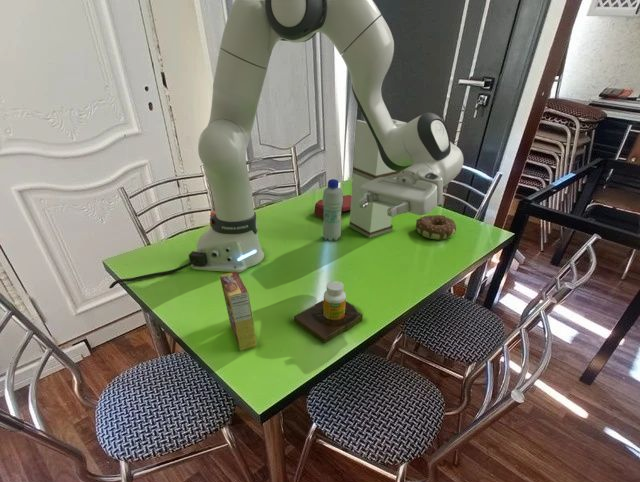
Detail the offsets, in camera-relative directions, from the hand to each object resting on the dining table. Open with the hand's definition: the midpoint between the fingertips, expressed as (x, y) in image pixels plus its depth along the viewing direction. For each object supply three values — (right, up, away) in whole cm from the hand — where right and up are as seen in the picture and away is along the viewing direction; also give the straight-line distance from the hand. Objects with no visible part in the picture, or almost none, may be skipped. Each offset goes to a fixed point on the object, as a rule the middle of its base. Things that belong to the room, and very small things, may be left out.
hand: (374, 209), depth 85 cm
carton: (-4, +19, +62) cm, 65 cm away
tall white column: (+6, +7, +48) cm, 49 cm away
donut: (+28, +5, +45) cm, 54 cm away
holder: (-11, -26, +5) cm, 29 cm away
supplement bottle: (-9, -26, +6) cm, 28 cm away
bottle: (-9, +2, +42) cm, 42 cm away
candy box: (-31, -30, 0) cm, 43 cm away
